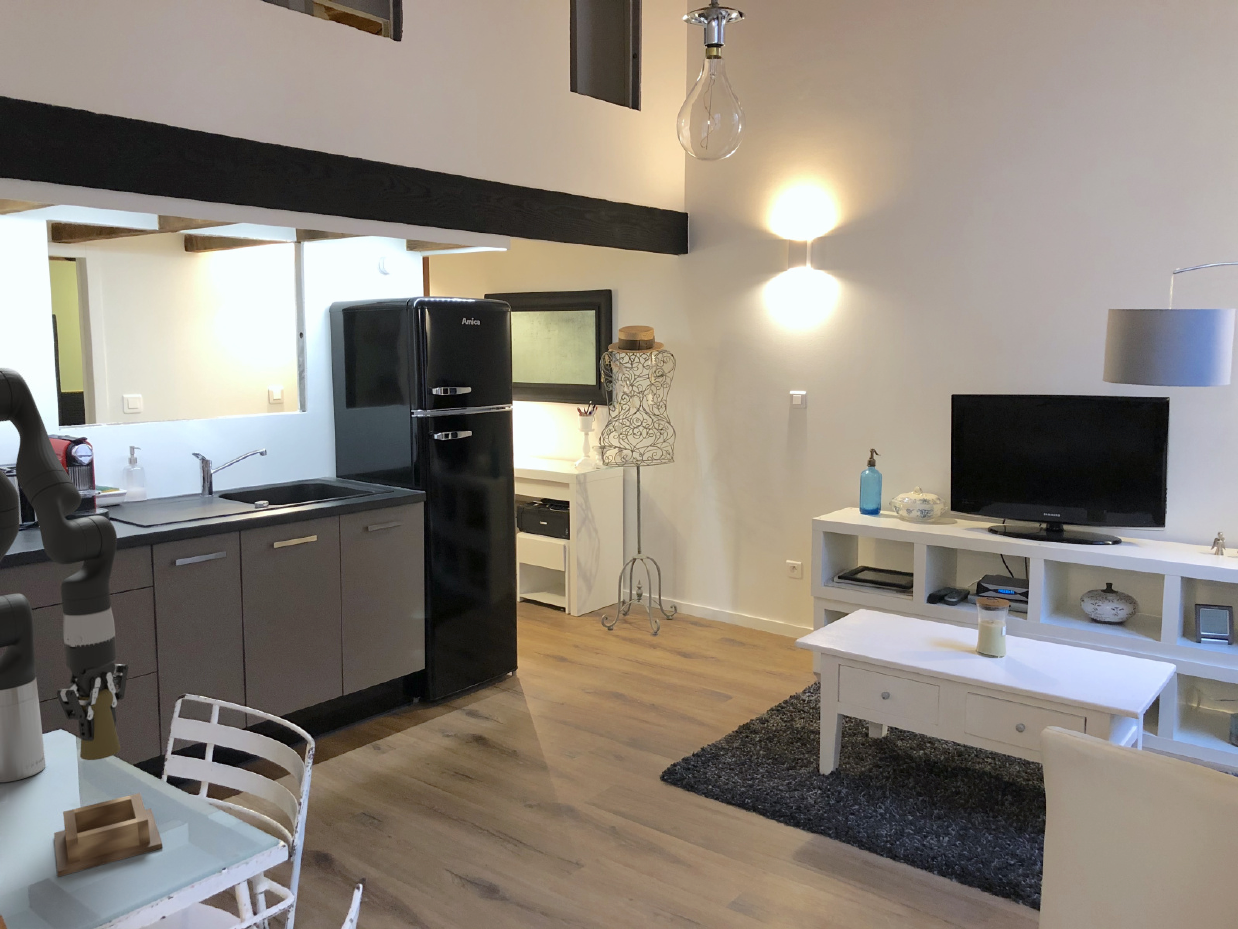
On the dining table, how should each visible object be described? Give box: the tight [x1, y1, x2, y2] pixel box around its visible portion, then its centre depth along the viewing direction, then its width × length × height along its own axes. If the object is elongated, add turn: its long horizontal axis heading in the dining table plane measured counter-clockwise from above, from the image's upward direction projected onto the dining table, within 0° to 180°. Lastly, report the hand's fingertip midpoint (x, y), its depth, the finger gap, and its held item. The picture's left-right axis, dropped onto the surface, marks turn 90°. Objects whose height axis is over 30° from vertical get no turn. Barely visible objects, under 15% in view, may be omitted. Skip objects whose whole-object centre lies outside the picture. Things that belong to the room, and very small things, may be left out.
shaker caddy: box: [53, 792, 163, 877], centre depth 150 cm, size 14×14×4 cm
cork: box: [79, 689, 122, 761], centre depth 161 cm, size 6×6×11 cm
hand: (98, 733), depth 162 cm, fingers closed on cork, 4 cm apart
